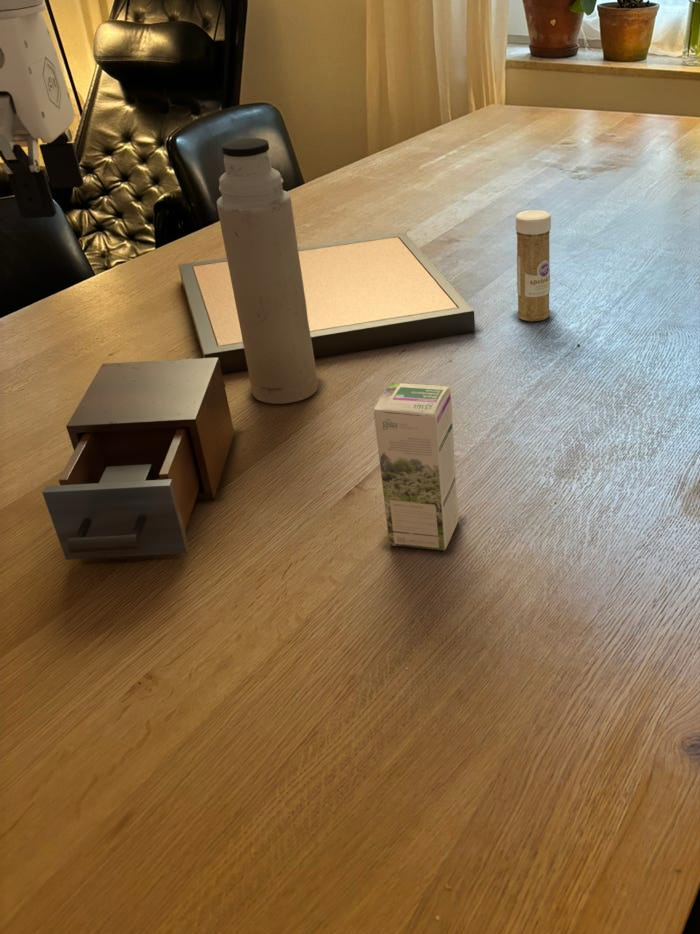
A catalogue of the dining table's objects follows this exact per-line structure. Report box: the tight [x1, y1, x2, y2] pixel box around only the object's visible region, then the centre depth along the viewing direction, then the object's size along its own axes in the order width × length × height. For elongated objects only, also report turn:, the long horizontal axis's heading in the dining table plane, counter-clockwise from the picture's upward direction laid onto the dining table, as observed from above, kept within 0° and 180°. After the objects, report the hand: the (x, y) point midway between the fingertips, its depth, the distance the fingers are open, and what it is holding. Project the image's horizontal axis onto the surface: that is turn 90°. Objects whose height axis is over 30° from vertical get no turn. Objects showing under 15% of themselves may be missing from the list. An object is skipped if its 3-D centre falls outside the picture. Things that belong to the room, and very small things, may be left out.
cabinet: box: [65, 357, 235, 501], centre depth 108 cm, size 15×13×9 cm
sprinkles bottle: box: [515, 209, 552, 322], centre depth 136 cm, size 5×5×13 cm
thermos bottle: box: [216, 137, 319, 405], centre depth 117 cm, size 8×8×28 cm
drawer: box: [41, 427, 202, 561], centre depth 98 cm, size 18×11×7 cm, turn 2°
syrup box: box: [373, 382, 460, 551], centre depth 95 cm, size 6×6×14 cm
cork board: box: [177, 232, 476, 375], centre depth 145 cm, size 36×3×35 cm
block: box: [99, 464, 156, 483], centre depth 99 cm, size 4×4×4 cm
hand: (54, 201), depth 99 cm, fingers open, 9 cm apart
